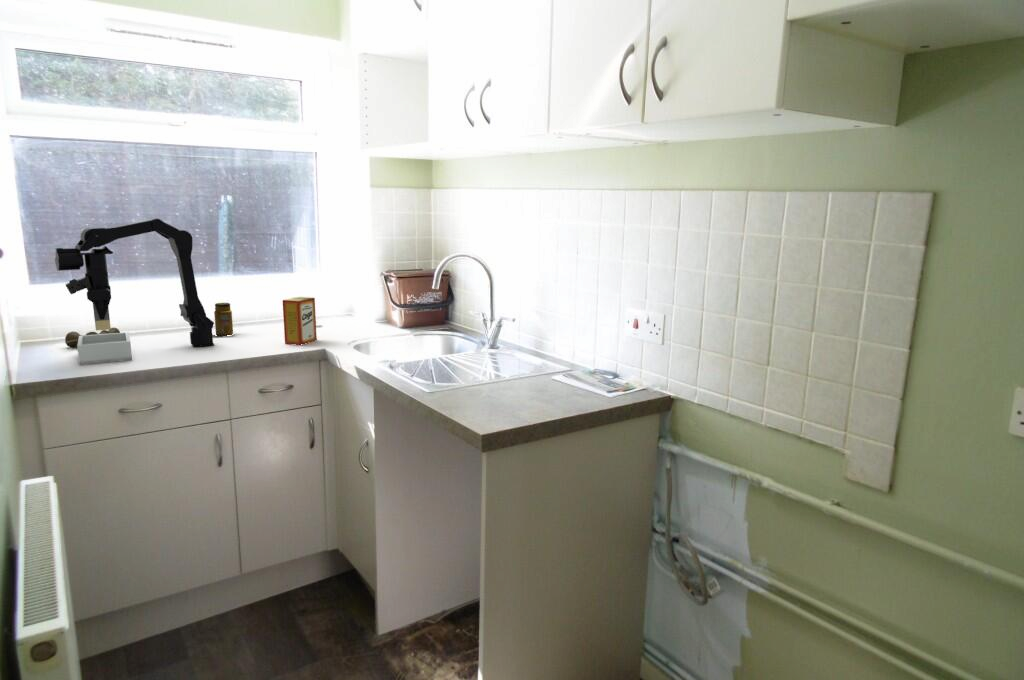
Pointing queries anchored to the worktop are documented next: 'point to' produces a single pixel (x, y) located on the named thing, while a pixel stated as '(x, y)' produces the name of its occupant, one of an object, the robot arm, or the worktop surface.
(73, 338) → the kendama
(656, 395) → the worktop surface
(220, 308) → the condiment
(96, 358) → the walled box
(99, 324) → the block
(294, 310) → the baking soda box
